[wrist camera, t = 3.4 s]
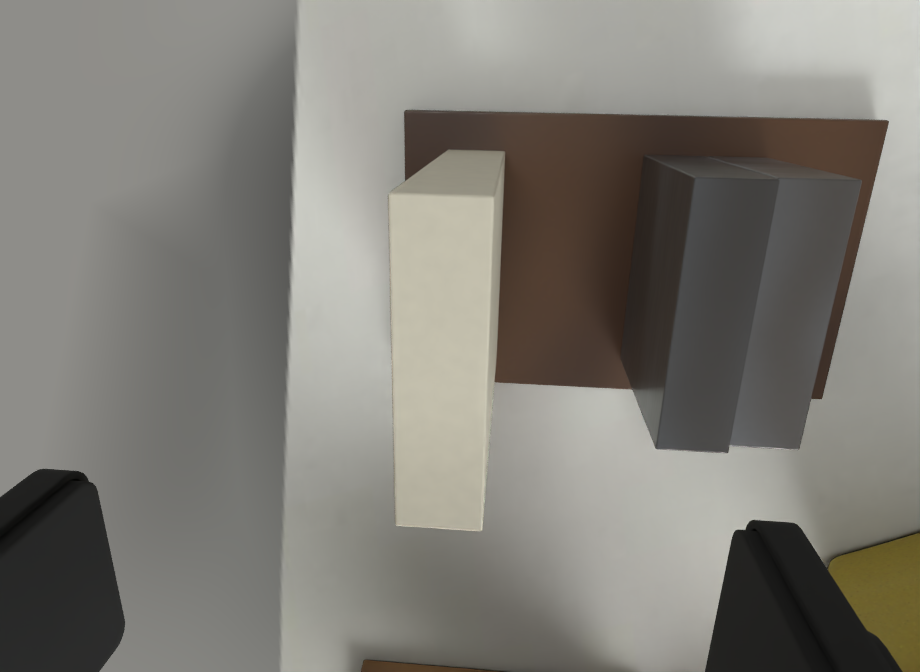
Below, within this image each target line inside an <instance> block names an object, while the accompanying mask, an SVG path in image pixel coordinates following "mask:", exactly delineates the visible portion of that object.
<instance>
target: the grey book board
mask: <svg viewBox="0 0 920 672" xmlns="http://www.w3.org/2000/svg"><path fill="white" fill-rule="evenodd" d="M888 123H889V121H887V120H869V119H821V118H774V117H726V116H678V115H630V114H582V113H534V112H486V111H439V110H406V111H405V112H404V127H405V181H406V180H407V179H409V178H410V177H411V176H413V175H414V174H416V173H417V172H418V171H420V170H421V169H422V168H424V167H425V166H427V165H428V164H429V163H431V162H432V161H433V160H435V159H436V158H438V157H439V156H440V155H442V154H443V153H444V152H446V151H447V150H483V151H505V170H504V194H503V218H502V242H501V266H500V290H499V315H498V339H497V358H496V370H495V382H500V383H519V384H538V385H557V386H577V387H596V388H615V389H632V390H633V392H634V395H635V397H636V400H637V402H638V405H639V407H640V410H641V412H642V415H643V417H644V420H645V422H646V425H647V428H648V430H649V433H650V435H651V438H652V440H653V443H654V445H655V448H656V449H661V450H678V451H695V452H712V453H728V451H729V446H736V447H753V448H770V449H788V450H799V448H800V444H801V439H802V435H803V431H804V427H805V422H806V418H807V414H808V410H809V405H810V401H811V399H822V397H823V393H824V388H825V384H826V380H827V376H828V372H829V368H830V364H831V359H832V355H833V351H834V347H835V343H836V339H837V335H838V330H839V326H840V322H841V318H842V314H843V310H844V306H845V301H846V297H847V293H848V289H849V285H850V281H851V277H852V272H853V268H854V264H855V260H856V256H857V252H858V248H859V244H860V239H861V235H862V231H863V227H864V223H865V219H866V215H867V210H868V206H869V202H870V198H871V194H872V190H873V186H874V181H875V177H876V173H877V169H878V165H879V161H880V157H881V152H882V148H883V144H884V140H885V136H886V132H887V128H888Z"/></svg>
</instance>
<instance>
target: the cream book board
mask: <svg viewBox="0 0 920 672" xmlns="http://www.w3.org/2000/svg"><path fill="white" fill-rule="evenodd" d="M361 672H501V671H489V670H478V669H466V668H454V667H442V666H431V665H419V664H407V663H395V662H384V661H372V660H364V661H363V665H362V668H361Z"/></svg>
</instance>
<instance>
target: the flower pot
mask: <svg viewBox="0 0 920 672" xmlns="http://www.w3.org/2000/svg"><path fill="white" fill-rule="evenodd" d="M828 571H829V573H830V574H831V576H832V577H833V579H834V580H835V582H836V583H837V585H838V587H839V588H840V590H841V591H842V593H843V594H844V596H845V597H846V599H847V600H848V602H849V604H850V605H851V607H852V608H853V610H854V611H855V613H856V614H857V616H858V617H859V619H860V621H861V622H862V624H863V625H864V627H865V628H866V630H867V631H869V632H871V633H873V634H874V635H876V636H877V637H878V638H879V639H880V640H881V641H882V643H883V644H884V645H885V646H886V647H887V649H888V650H889V652H890V653H891V655H892V656H893V658H894V659H895V661H896V662H897V664H898V665H899V667H900V668H901V670H902V671H903V672H920V533H917V534H914V535H911V536H907V537H904V538H901V539H897V540H894V541H891V542H887V543H884V544H880V545H877V546H874V547H870V548H867V549H863V550H859V551H856V552H852V553H849V554H845V555H841V556H838V557H836V558H834V559H833V560H832V561H831V562H830V564H829V567H828Z"/></svg>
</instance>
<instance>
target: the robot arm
mask: <svg viewBox="0 0 920 672" xmlns="http://www.w3.org/2000/svg"><path fill="white" fill-rule="evenodd" d="M124 627H125V619H124V615H123V610H122V605H121V600H120V596H119V591H118V586H117V581H116V576H115V571H114V567H113V562H112V558H111V552H110V548H109V543H108V538H107V534H106V529H105V524H104V519H103V514H102V510H101V505H100V500H99V496H98V491H97V488H96V486H95V485H94V484H93V483H91V482H89V481H88V478H87V477H86V476H85V474H84V473H81V472H79V471H68V470H54V469H40V470H37V471H35V472H33V473H32V474H31V475H29V476H28V477H27V478H25V479H24V480H23V481H21V482H20V483H18V484H17V485H16V486H14V487H13V488H12V489H10V490H9V491H8V492H7V493H5V494H4V495H3V496H1V497H0V672H99V671H100V670H101V668H102V667H103V666H104V664H105V663H106V662H107V660H108V659H109V658H110V656H111V655H112V654H113V652H114V651H115V650H116V648H117V647H118V645H119V644H120V641H121V639H122V636H123V633H124ZM705 672H903V671H902V670H901V668H900V667H899V665H898V664H897V662H896V661H895V659H894V658H893V656H892V655H891V653H890V652H889V650H888V649H887V647H886V646H885V645H884V644H883V643H882V641H881V640H880V639H879V638H878V637H877V636H876V635H874V634H873V633H871V632H869V631H867V630H866V628H865V627H864V625H863V624H862V622H861V621H860V619H859V617H858V616H857V614H856V613H855V611H854V610H853V608H852V607H851V605H850V604H849V602H848V600H847V599H846V597H845V596H844V594H843V593H842V591H841V590H840V588H839V587H838V585H837V583H836V582H835V580H834V579H833V577H832V576H831V574H830V573H829V571H828V569H827V568H826V566H825V565H824V563H823V562H822V560H821V559H820V557H819V556H818V554H817V552H816V551H815V549H814V548H813V546H812V545H811V543H810V542H809V540H808V539H807V537H806V535H805V534H804V532H803V531H802V529H801V528H800V527H799V526H798V525H797V524H795V523H787V522H773V521H760V520H752V521H750V522H749V523H748V525H747V527H746V530H736V531H735V532H734V534H733V537H732V541H731V546H730V551H729V556H728V560H727V565H726V570H725V575H724V580H723V585H722V590H721V595H720V600H719V605H718V610H717V615H716V620H715V625H714V630H713V635H712V640H711V645H710V650H709V655H708V660H707V665H706V669H705Z"/></svg>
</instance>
